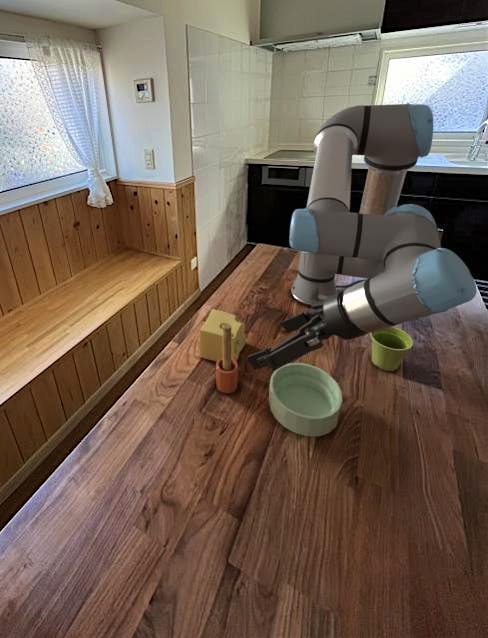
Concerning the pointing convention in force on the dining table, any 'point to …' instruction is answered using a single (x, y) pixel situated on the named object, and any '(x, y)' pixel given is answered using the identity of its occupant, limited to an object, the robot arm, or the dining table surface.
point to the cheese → (221, 335)
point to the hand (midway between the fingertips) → (268, 344)
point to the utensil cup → (227, 377)
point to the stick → (226, 347)
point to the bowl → (305, 399)
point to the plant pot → (389, 347)
